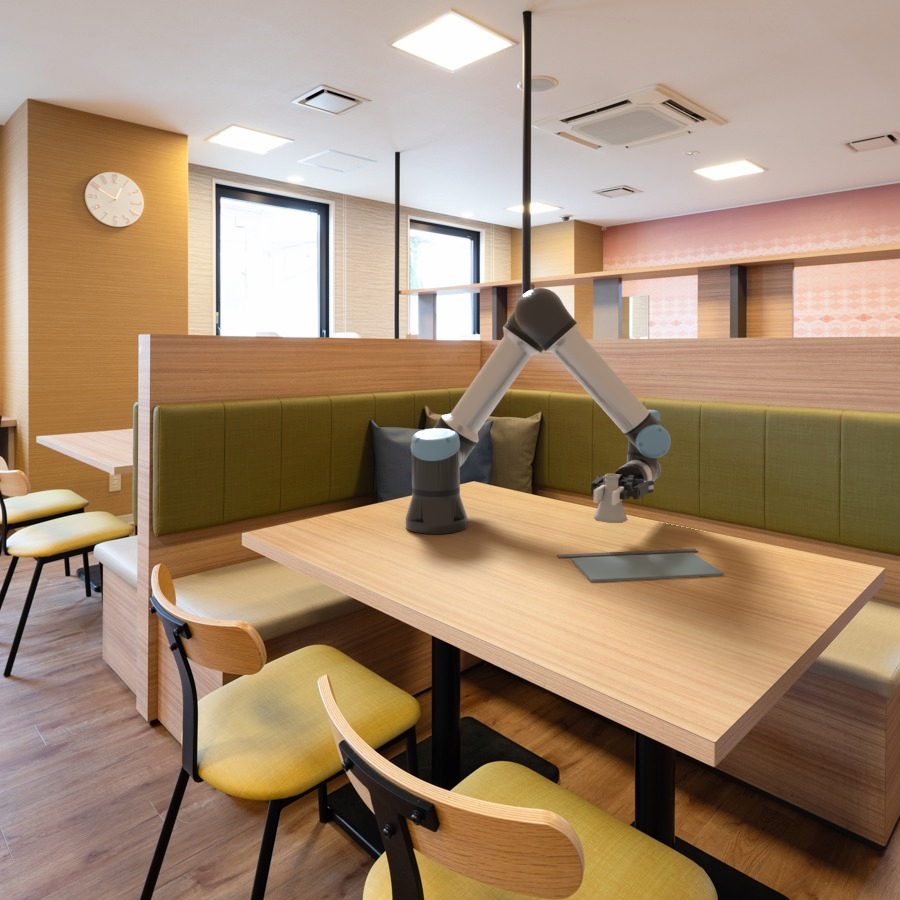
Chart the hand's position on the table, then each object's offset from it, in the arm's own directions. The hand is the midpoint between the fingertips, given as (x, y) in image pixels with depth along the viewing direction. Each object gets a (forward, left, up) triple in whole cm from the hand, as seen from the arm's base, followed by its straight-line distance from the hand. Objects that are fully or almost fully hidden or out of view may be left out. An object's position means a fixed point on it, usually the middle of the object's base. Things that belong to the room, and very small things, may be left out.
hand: (604, 497), depth 141 cm
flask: (+3, +4, -6) cm, 8 cm away
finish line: (+5, -1, -12) cm, 13 cm away
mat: (+5, -10, -12) cm, 17 cm away
